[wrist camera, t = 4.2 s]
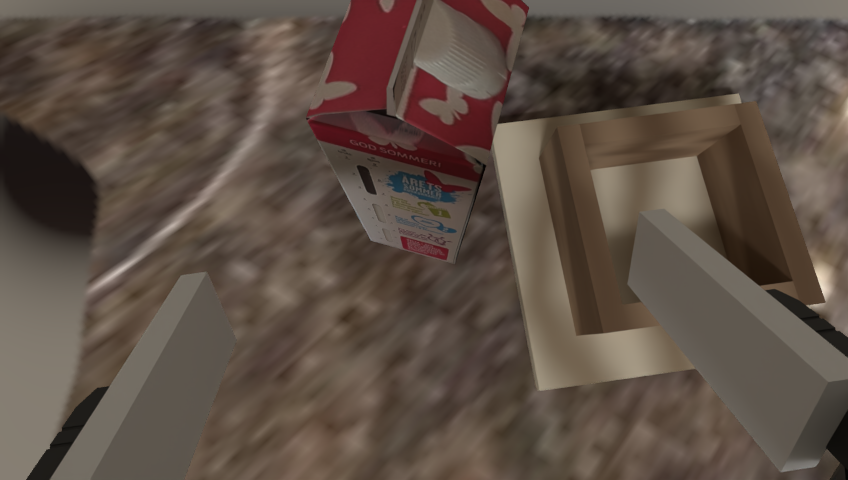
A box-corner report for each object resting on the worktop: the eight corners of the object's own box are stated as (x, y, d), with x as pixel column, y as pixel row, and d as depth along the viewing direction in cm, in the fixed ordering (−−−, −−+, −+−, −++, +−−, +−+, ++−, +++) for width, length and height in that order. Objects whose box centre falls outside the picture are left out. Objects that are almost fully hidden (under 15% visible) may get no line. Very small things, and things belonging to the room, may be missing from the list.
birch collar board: (730, 100, 37) (787, 53, 31) (812, 350, 32) (899, 350, 26) (488, 131, 36) (500, 89, 30) (536, 389, 31) (560, 398, 26)
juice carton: (476, 183, 35) (553, -75, 14) (454, 263, 34) (501, 115, 12) (396, 162, 36) (347, -120, 14) (370, 240, 34) (273, 57, 13)
